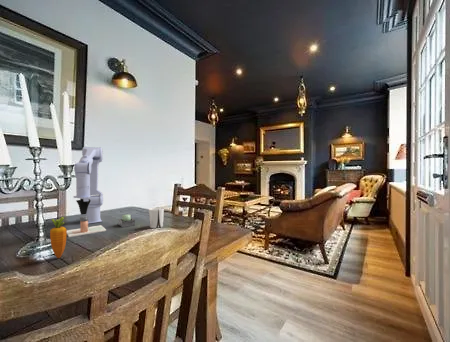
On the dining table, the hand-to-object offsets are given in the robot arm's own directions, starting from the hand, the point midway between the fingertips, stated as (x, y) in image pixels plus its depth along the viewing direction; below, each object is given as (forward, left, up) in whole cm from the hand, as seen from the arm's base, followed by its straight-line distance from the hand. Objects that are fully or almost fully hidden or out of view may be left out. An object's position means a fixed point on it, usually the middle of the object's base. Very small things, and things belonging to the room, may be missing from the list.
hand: (83, 214), depth 113 cm
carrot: (+29, -12, -10) cm, 33 cm away
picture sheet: (-3, +2, -9) cm, 10 cm away
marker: (0, 0, -9) cm, 9 cm away
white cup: (+12, +32, -10) cm, 36 cm away
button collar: (-2, +21, -9) cm, 23 cm away
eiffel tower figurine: (+24, +28, -10) cm, 38 cm away
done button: (-2, +21, -8) cm, 23 cm away
